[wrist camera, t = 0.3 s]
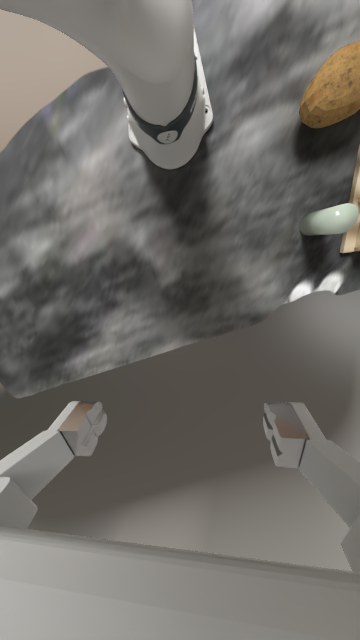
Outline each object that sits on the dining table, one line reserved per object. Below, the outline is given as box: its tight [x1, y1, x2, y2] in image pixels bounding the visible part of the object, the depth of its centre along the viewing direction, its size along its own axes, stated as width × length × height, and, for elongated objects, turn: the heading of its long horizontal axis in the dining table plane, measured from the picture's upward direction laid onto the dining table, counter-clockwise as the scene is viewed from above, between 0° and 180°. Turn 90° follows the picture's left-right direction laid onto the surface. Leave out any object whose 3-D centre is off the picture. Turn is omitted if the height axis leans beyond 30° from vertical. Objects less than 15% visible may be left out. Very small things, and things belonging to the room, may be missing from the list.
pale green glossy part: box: [300, 203, 359, 236], centre depth 40 cm, size 5×5×11 cm
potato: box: [299, 40, 360, 128], centre depth 33 cm, size 10×14×8 cm
